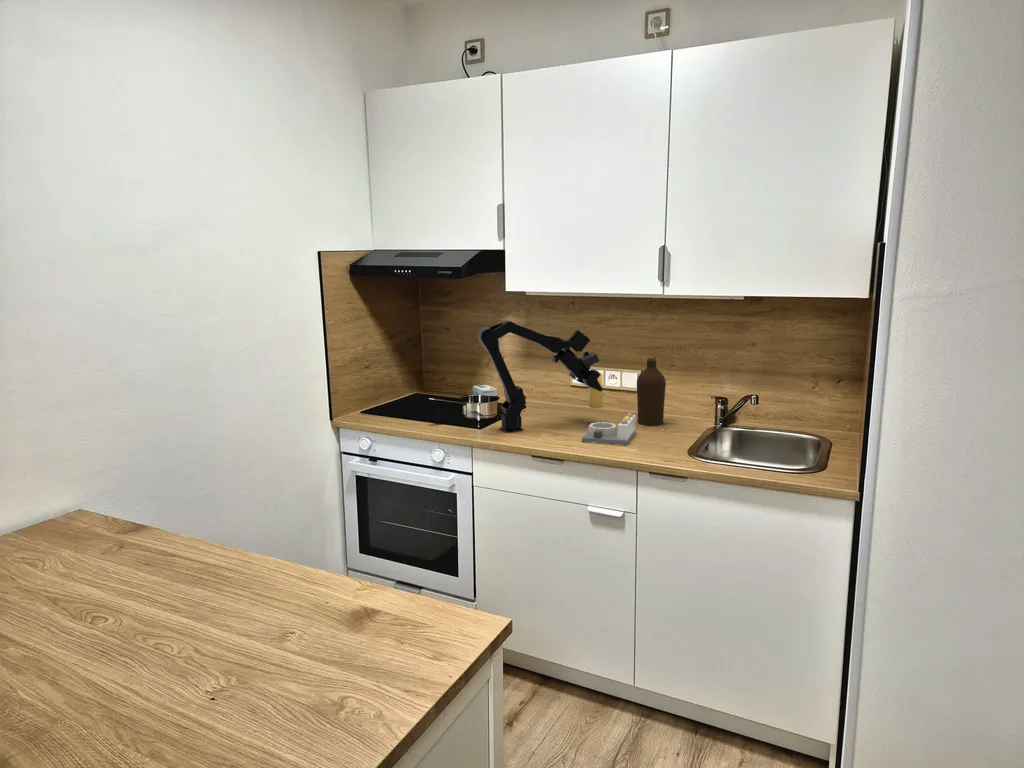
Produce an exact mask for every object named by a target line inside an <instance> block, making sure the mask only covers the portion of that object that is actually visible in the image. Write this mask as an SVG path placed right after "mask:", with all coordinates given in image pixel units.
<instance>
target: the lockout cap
mask: <svg viewBox="0 0 1024 768" xmlns="http://www.w3.org/2000/svg"><path fill="white" fill-rule="evenodd" d="M599 373H600V372H599ZM600 374H601V375H600V376H599V378H598V379H597V380H598V382H599V383H600V385H601V387H602V389H603V386H604V385H603V384H604V382H603V381H604V379H603V378H604V377H603V374H604V373H600ZM603 390H604V389H603ZM603 390H602V391H598V390H596V389H593V388H591V387H589V386H588V407H589V408H591V409H601V408H603Z"/></svg>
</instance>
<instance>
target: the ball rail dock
mask: <svg viewBox="0 0 1024 768" xmlns="http://www.w3.org/2000/svg"><path fill="white" fill-rule="evenodd" d="M636 420H637V419H636V414H633V413H631V412H629V413H628V412H627V414H626V415H625V416H624V418H623V419H622V420H621V421H620V423H618V424H615V423H613V422H612V421H605V420H604V421H602V422H601V421H598V422H592V423H590V424H589V425H588V431H587V432H586V433H585V434H584V435H583V436H582V437H581V441H586V442H585V443H588V442H597V443H596V444H601V443H607V444H606V445H614V444H619V445H618V446H627V445H628V444H629V442H630V441H631V440H632V438H633V437H634V436H635V434H636V433H637V430H636V429H637V428H636ZM632 436H633V437H632ZM630 439H631V440H630ZM608 443H609V444H608ZM627 443H628V444H627Z"/></svg>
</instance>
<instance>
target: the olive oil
mask: <svg viewBox="0 0 1024 768" xmlns="http://www.w3.org/2000/svg"><path fill="white" fill-rule="evenodd" d="M646 359H647V361H646V367H645V369H643V370H642V372H640V374H639V375H638V377H637V380H636V400H637V423H638V424H640V425H643V426H660V425H662V424H664V416H665V415H664V413H665V398H666V385H667V383H666V381H667V380H666V378H665V376H664V375H663V373H662V372H661V371H660V370H659V369H658V368H657V360H656V359H657V357H656V356H647V357H646Z"/></svg>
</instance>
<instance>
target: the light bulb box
mask: <svg viewBox="0 0 1024 768" xmlns="http://www.w3.org/2000/svg"><path fill="white" fill-rule="evenodd" d="M473 395H487V396H497V397H498V389H497V388H496V387H493V386H491V385H489V384H483V385H482V384H481V385H473V386H472V396H473Z"/></svg>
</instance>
